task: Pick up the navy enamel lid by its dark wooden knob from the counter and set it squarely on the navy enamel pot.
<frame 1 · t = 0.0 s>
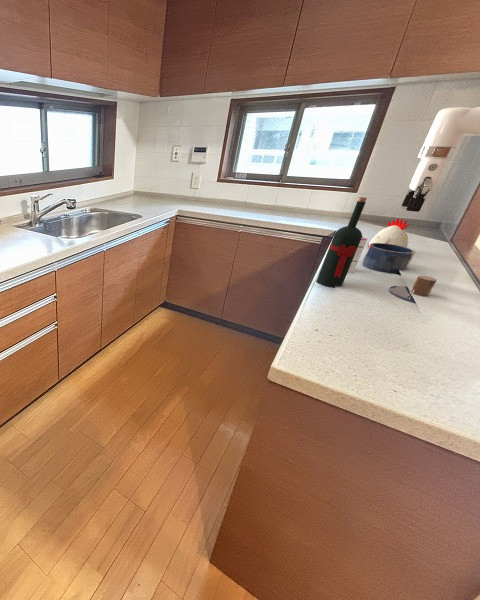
hand: (409, 208, 109), 26 cm above the worktop, tool pointing down, fingers open, 9 cm apart
lid: (417, 296, 107), point 1 cm above the worktop
pot: (382, 267, 133), on the worktop
syrup box: (341, 271, 129), on the worktop
wine bottle: (329, 285, 116), on the worktop
chicken figurine: (385, 250, 155), on the worktop
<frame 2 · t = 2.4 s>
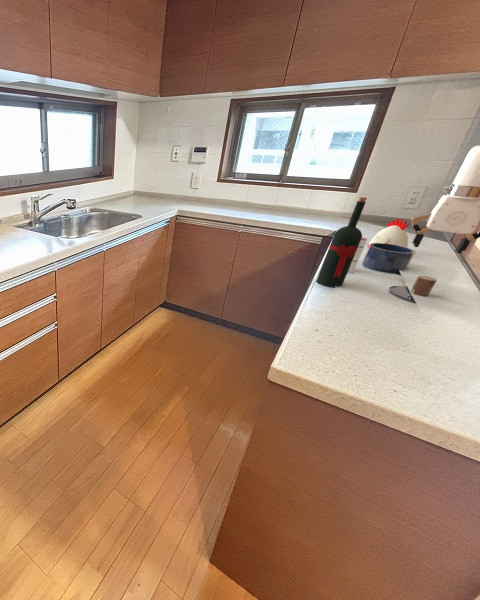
hand: (436, 249, 101), 16 cm above the worktop, tool pointing down, fingers open, 9 cm apart
nothing on the worktop moved.
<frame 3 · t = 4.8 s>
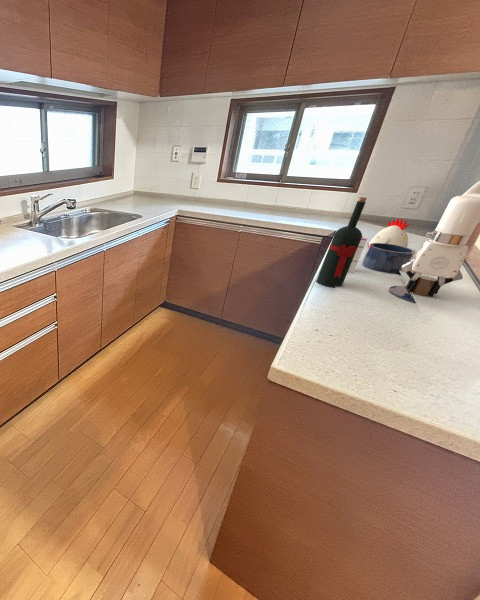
hand: (419, 292, 106), 2 cm above the worktop, tool pointing down, fingers closed on lid, 4 cm apart
lid: (417, 296, 107), point 1 cm above the worktop, touching gripper
everything else where it was.
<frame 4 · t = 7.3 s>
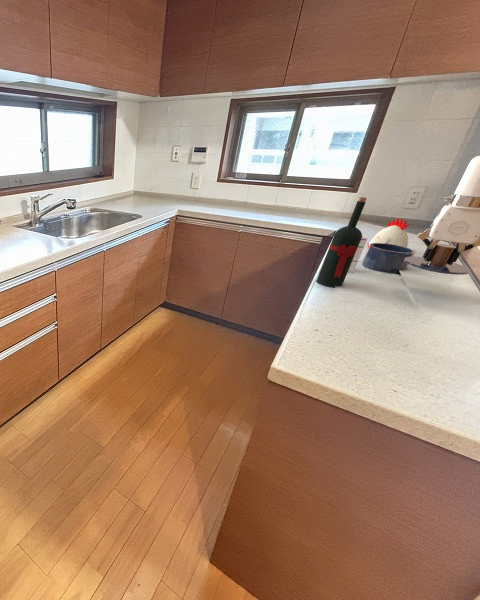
hand: (437, 261, 101), 13 cm above the worktop, tool pointing down, fingers closed on lid, 4 cm apart
lid: (435, 265, 102), point 11 cm above the worktop, touching gripper
everything else where it was.
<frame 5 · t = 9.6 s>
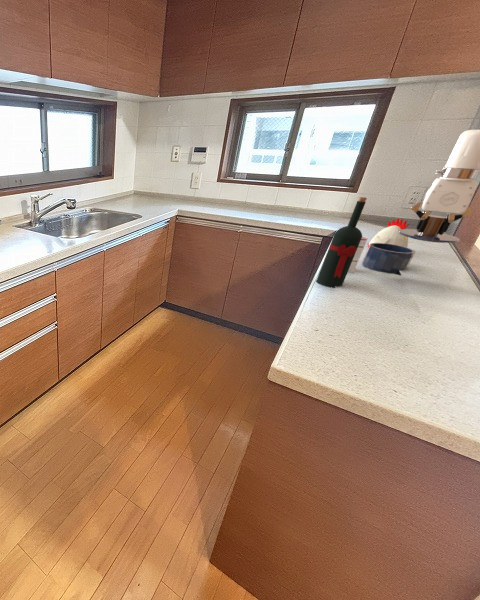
hand: (429, 232, 108), 19 cm above the worktop, tool pointing down, fingers closed on lid, 4 cm apart
lid: (427, 236, 109), point 18 cm above the worktop, touching gripper
everything else where it was.
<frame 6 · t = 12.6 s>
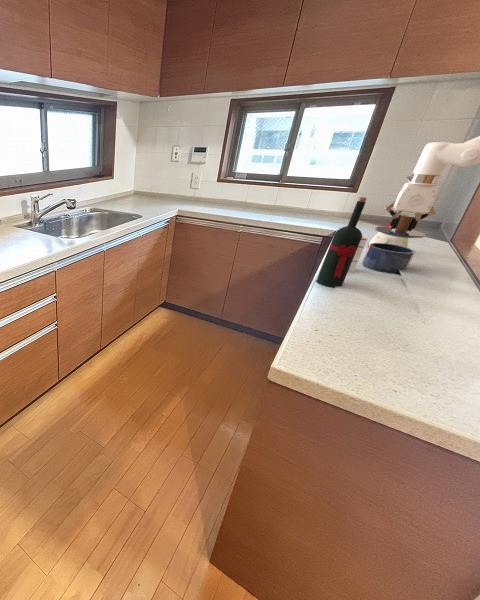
hand: (400, 229, 126), 16 cm above the worktop, tool pointing down, fingers closed on lid, 4 cm apart
lid: (398, 232, 126), point 15 cm above the worktop, touching gripper
everything else where it was.
when the fingers open (10 cm above the worktop, at t = 14.7 s): lid stays where it is, resting on pot.
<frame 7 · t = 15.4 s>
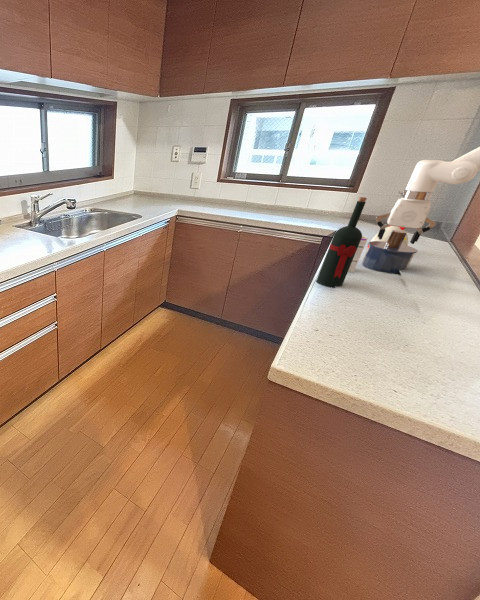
hand: (395, 240, 128), 11 cm above the worktop, tool pointing down, fingers open, 9 cm apart
lid: (391, 247, 129), point 8 cm above the worktop, touching pot
everything else where it was.
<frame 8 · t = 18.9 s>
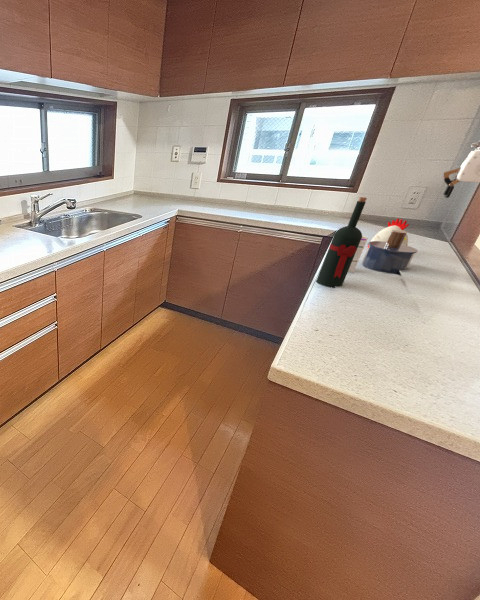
hand: (464, 198, 118), 28 cm above the worktop, tool pointing down, fingers open, 9 cm apart
nothing on the worktop moved.
at the end: lid 0.1 cm off-centre on the pot, point 8.5 cm above the pot's base; lid tilted 0° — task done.
